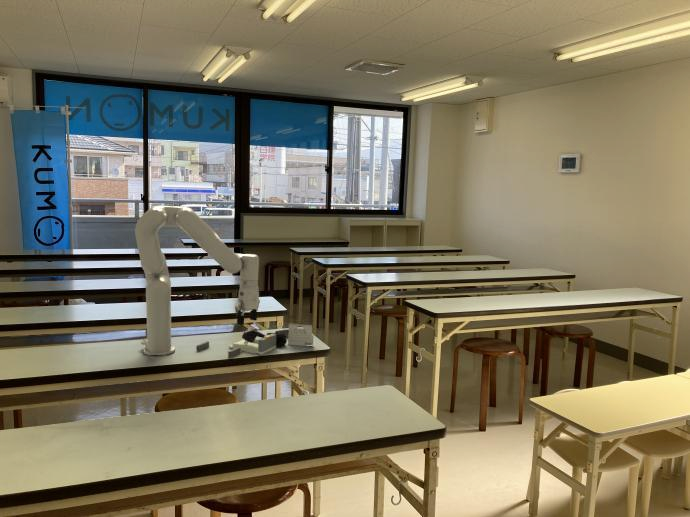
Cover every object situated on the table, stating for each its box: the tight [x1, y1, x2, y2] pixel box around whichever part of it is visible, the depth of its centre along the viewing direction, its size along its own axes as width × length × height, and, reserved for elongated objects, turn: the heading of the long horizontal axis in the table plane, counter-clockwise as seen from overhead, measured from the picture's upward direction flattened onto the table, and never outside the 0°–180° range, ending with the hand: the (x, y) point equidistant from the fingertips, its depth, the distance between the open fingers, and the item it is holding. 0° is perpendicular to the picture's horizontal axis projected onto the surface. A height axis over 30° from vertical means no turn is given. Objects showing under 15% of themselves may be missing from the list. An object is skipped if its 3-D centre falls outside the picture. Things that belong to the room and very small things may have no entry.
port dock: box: [228, 334, 277, 355], centre depth 249 cm, size 17×11×6 cm, turn 66°
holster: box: [195, 341, 242, 358], centre depth 242 cm, size 17×7×2 cm, turn 66°
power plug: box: [241, 328, 266, 345], centre depth 250 cm, size 6×8×12 cm
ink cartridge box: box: [287, 323, 314, 346], centre depth 255 cm, size 2×11×10 cm, turn 78°
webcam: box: [265, 332, 288, 349], centre depth 254 cm, size 9×6×6 cm
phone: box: [274, 328, 289, 339], centre depth 270 cm, size 8×1×15 cm
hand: (246, 322), depth 248 cm, fingers open, 9 cm apart
